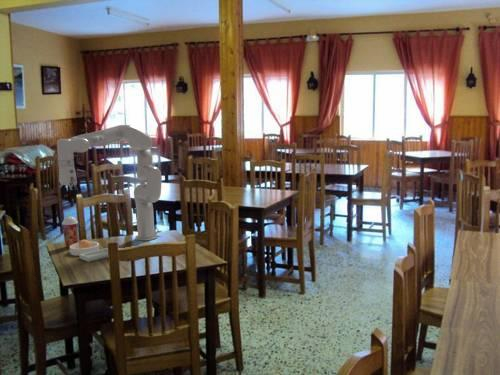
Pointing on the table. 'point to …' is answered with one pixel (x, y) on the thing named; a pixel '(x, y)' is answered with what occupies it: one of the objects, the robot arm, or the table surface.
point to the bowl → (76, 251)
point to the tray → (94, 255)
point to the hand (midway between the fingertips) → (68, 196)
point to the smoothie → (70, 230)
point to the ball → (84, 244)
